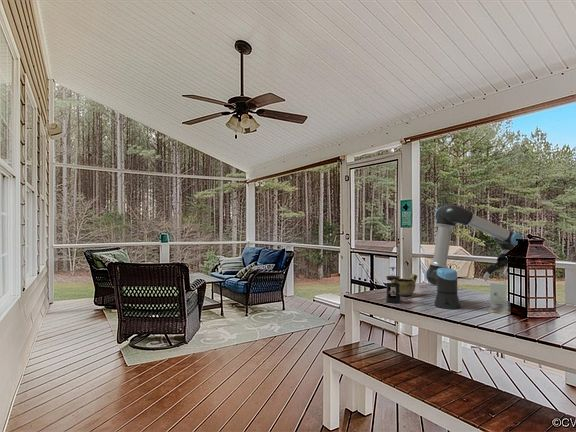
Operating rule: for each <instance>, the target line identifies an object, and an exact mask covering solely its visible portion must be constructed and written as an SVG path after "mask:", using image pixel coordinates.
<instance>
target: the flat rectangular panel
mask: <svg viewBox="0 0 576 432" xmlns="http://www.w3.org/2000/svg"><path fill="white" fill-rule="evenodd" d="M506 285H507V284H506V283H503V282H502V283H501V282H500V283H499V282H489V295H490V296H489V298H490V299H489V300H490V301H489V304H490V303H497V304H507V286H506Z"/></svg>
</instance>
